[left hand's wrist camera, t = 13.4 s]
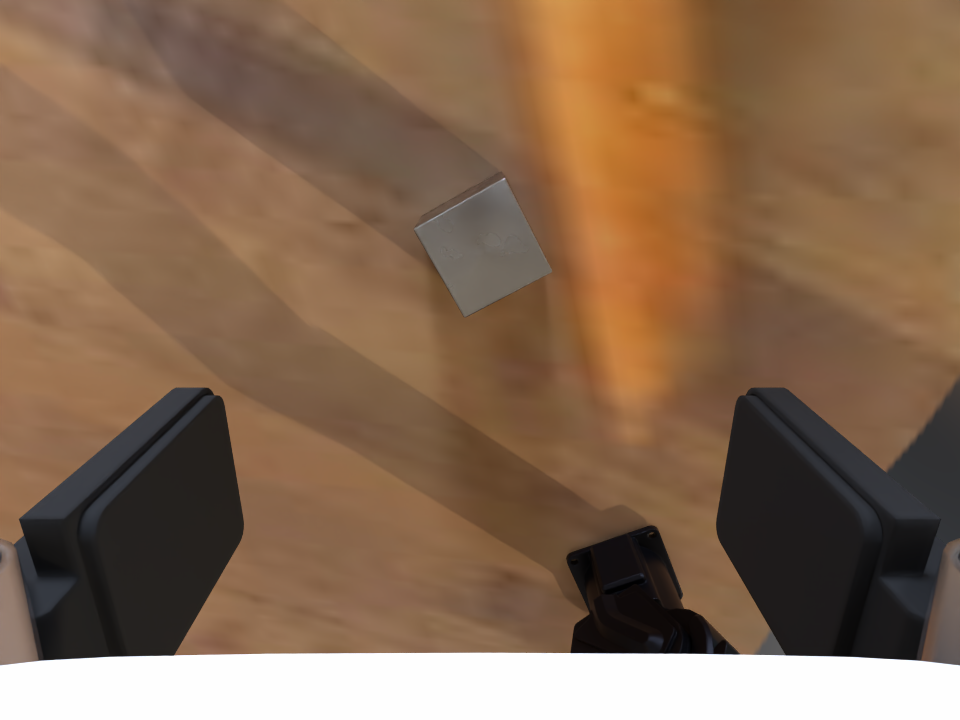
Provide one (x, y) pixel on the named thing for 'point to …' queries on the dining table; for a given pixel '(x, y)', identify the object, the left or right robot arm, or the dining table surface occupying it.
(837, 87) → the dining table surface
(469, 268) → the block
